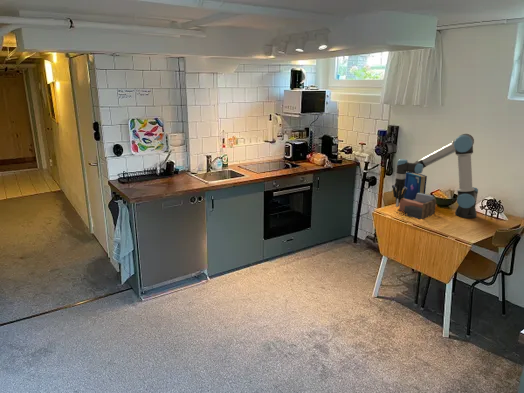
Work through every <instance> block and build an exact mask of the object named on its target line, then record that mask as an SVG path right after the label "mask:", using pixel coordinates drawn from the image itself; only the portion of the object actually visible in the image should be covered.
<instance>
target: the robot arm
mask: <svg viewBox="0 0 524 393" xmlns="http://www.w3.org/2000/svg"><path fill="white" fill-rule="evenodd" d="M474 144H475V139H474V137H473V136H472V135H471V134H468V133H462V134H461V135H459V136H457V137H456V138H455V139H454V140H452V141H451V142H450V143H448V144H447V145H444V146H443V147H441V148H439V149H437V150H435V151H433V152H431V153H430V154H428V155H426V156H424V157H422V158H420V159H417V160H416V161H415V162H408V160H407V159H405V158H399V159H398V160H397V164H396V173H395V182H394V184H392V185H391V188H392V193H393V197H394V198H395V204H396V205H395V207H397V208H398V207H400V200H401V199H405V198H404V195H405V192H406V190H407V189H408V188H406V187H405V178H406V172H412V173H419V174H422V173H423V170H424V169H425V168H427V167H428V166H430V165H433V164H434V163H436V162H438V161H440V160H442V159H444V158H446V157H449V156H450V155H453V154H454V153H455V155H456V156H457V166H458V167H457V168H458V183H459V185H458V186H459V187H458V188H457V190H456V191H457V192H456V193H457V198H456V202H457V205H458V206H457V207H456V209H455V212H454V215H455V216H457V217H459V218H464V219H475V218H477V214H478V213H477V208H476V205H477V199H478V194H479V188H477V187H473V174H472V173H473V172H472V155H473V154H474Z"/></svg>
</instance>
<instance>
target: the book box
mask: <svg viewBox="0 0 524 393" xmlns="http://www.w3.org/2000/svg"><path fill="white" fill-rule="evenodd" d="M423 204H424V203H422V202H417V201H413V200H409V199H405V198H402V199H401V200H400V204H399V206H398V207H399V208H398V210H399V211H400V212H404V210H405V206H410V205H411V206H416V207H420V208H423Z"/></svg>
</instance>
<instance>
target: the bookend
mask: <svg viewBox="0 0 524 393" xmlns="http://www.w3.org/2000/svg"><path fill="white" fill-rule="evenodd" d="M403 213H404V214H405V216H407V217H410V218H413V219H416V220H417V219H418V220H422V219H421V216H422V208H420V207H416V206H411V205H410V206H405V210H404V211H403Z"/></svg>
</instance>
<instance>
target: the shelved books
mask: <svg viewBox="0 0 524 393" xmlns="http://www.w3.org/2000/svg"><path fill="white" fill-rule="evenodd" d="M434 199H436V197H435V195H431V194H426V193H425V194H422V193H417V195H416V201H417V202H422V203H426V202H429V201H431V200H434Z"/></svg>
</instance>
